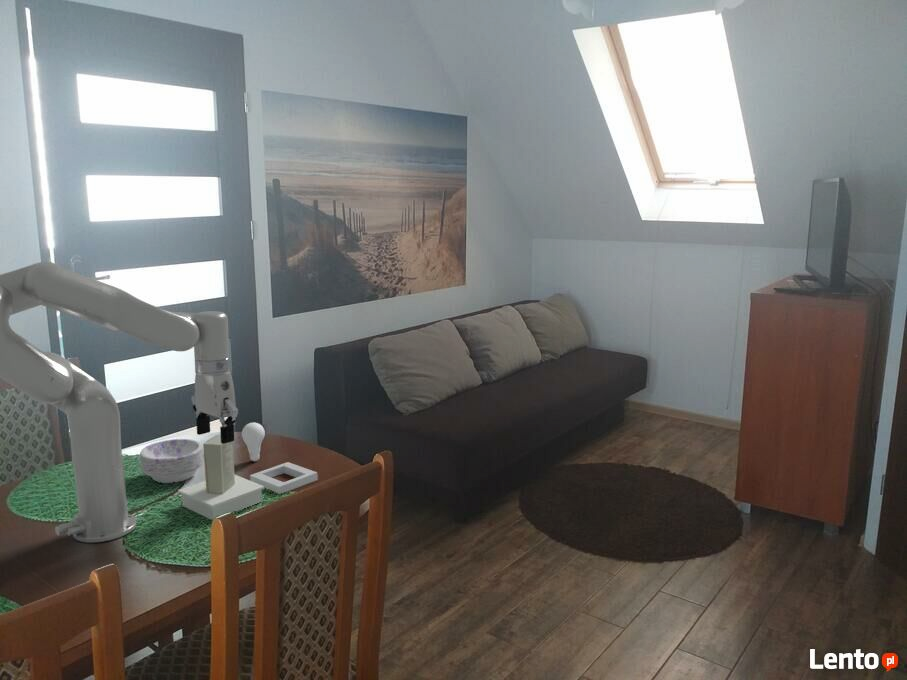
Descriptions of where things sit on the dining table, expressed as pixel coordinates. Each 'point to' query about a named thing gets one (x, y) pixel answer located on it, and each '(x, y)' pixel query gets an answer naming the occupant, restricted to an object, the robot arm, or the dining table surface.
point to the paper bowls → (172, 460)
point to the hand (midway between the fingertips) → (215, 437)
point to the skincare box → (218, 465)
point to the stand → (221, 498)
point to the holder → (280, 487)
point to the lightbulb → (253, 439)
